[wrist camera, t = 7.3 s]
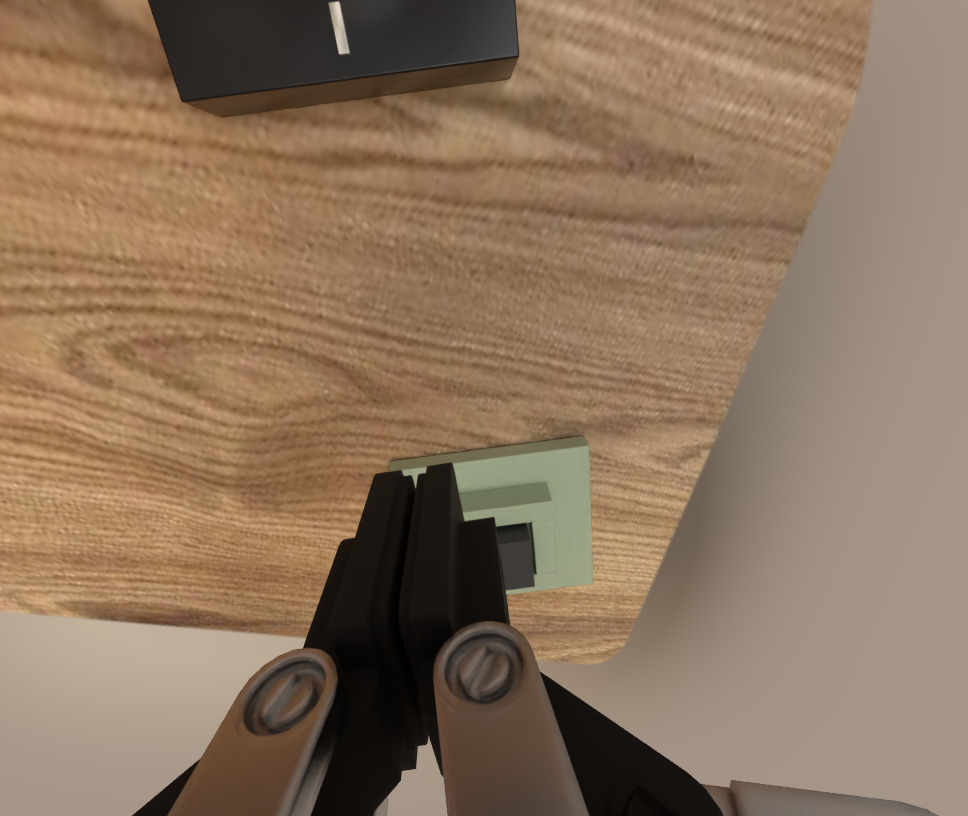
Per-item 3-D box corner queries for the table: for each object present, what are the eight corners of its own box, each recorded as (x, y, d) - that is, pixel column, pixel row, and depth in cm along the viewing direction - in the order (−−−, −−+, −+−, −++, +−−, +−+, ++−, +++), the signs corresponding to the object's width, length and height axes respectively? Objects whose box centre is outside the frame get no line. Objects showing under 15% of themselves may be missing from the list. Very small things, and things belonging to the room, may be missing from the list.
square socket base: (583, 435, 26) (598, 462, 23) (588, 570, 30) (601, 606, 27) (390, 460, 26) (382, 491, 23) (421, 591, 30) (417, 630, 27)
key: (526, 521, 25) (530, 540, 23) (530, 566, 26) (535, 587, 24) (467, 529, 25) (468, 548, 23) (475, 573, 26) (476, 594, 24)
